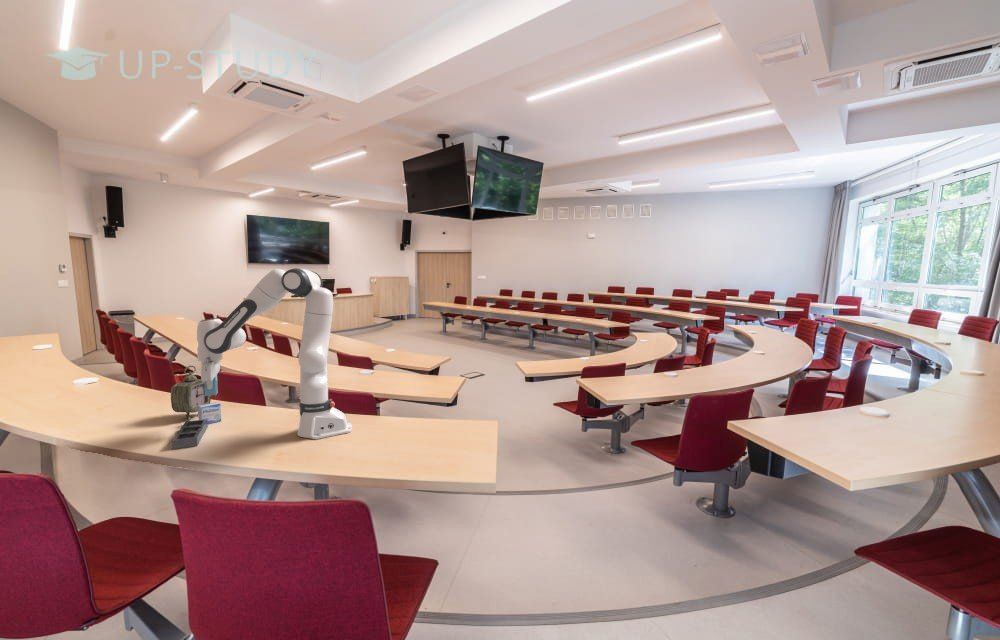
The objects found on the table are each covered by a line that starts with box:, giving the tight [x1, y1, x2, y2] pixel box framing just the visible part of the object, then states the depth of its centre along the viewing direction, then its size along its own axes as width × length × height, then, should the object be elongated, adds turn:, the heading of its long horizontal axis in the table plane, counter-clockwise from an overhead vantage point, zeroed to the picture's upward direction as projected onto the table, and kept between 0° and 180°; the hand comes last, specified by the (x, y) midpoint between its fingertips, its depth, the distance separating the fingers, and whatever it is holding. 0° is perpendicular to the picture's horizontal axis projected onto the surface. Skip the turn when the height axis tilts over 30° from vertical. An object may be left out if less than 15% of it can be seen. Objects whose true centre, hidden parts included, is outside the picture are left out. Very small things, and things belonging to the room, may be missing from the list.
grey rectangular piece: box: [171, 419, 209, 450], centre depth 174 cm, size 8×24×4 cm, turn 27°
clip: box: [204, 374, 219, 397], centre depth 180 cm, size 4×4×8 cm
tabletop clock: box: [170, 365, 212, 421], centre depth 198 cm, size 14×9×25 cm, turn 179°
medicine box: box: [197, 401, 222, 425], centre depth 192 cm, size 8×4×9 cm, turn 143°
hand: (211, 387), depth 180 cm, fingers closed on clip, 4 cm apart
